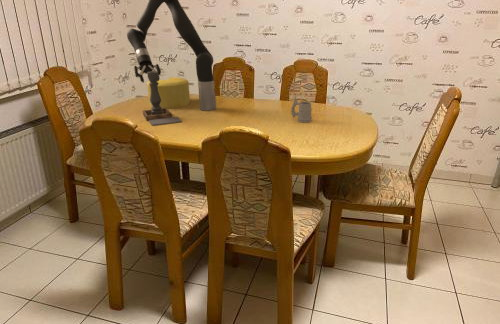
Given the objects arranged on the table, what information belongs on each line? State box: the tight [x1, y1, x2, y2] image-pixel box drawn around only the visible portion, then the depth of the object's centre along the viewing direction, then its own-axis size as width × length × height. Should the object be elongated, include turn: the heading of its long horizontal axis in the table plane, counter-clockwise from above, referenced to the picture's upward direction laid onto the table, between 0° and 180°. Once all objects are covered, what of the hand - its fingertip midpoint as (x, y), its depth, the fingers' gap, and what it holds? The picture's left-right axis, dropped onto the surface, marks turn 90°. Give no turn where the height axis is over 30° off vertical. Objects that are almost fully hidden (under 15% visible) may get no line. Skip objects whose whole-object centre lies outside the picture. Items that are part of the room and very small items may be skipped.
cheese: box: [146, 76, 191, 109], centre depth 242 cm, size 26×26×15 cm
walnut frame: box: [142, 108, 173, 122], centre depth 216 cm, size 14×14×2 cm
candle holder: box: [147, 70, 164, 115], centre depth 211 cm, size 6×6×25 cm
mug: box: [290, 97, 313, 124], centre depth 202 cm, size 8×12×12 cm, turn 61°
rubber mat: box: [148, 116, 182, 127], centre depth 206 cm, size 16×10×1 cm, turn 113°
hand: (150, 81), depth 214 cm, fingers open, 8 cm apart
